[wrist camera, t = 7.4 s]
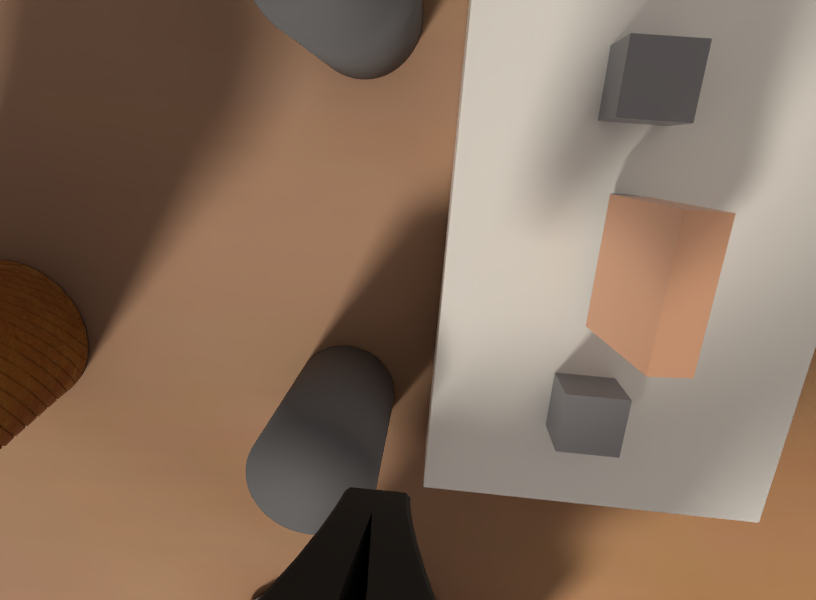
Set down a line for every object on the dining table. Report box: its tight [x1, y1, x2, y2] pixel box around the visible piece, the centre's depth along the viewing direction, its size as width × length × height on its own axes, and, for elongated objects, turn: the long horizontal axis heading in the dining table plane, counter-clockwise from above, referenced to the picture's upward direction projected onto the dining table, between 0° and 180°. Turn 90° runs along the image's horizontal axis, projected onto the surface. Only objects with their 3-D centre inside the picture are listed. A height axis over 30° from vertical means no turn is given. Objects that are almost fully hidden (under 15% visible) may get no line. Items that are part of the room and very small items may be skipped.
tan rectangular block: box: [586, 193, 736, 378], centre depth 14 cm, size 1×4×4 cm, turn 175°
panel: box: [423, 0, 816, 523], centre depth 17 cm, size 12×18×5 cm, turn 176°
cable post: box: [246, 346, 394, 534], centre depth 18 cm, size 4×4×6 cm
